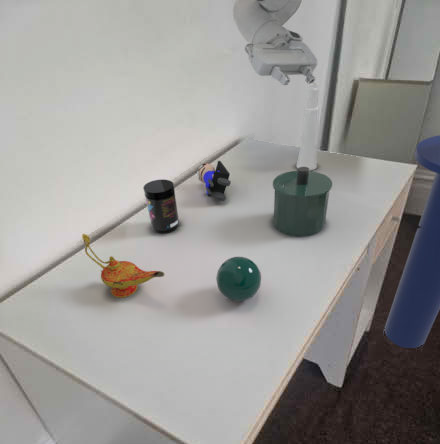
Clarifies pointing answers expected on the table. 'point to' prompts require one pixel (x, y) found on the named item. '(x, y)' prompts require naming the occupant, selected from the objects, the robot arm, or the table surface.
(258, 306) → the table surface
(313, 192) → the pot lid
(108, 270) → the magic lamp
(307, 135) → the cosmetic bottle
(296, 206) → the pot
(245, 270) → the sphere
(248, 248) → the table surface
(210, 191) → the character figurine
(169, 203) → the supplement container
